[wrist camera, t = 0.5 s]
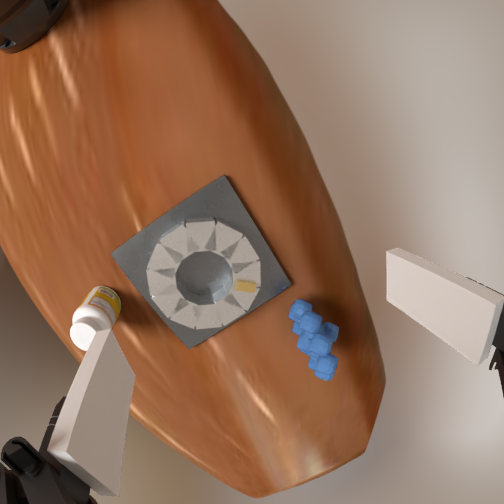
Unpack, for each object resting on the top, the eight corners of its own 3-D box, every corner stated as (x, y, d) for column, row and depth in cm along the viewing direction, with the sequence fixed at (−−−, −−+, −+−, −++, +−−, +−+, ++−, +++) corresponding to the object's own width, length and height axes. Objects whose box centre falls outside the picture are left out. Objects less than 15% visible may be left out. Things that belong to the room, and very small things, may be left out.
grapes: (327, 336, 45) (362, 378, 34) (291, 352, 44) (319, 399, 33) (315, 279, 41) (356, 315, 30) (274, 295, 40) (304, 339, 29)
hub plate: (112, 252, 34) (102, 262, 29) (223, 174, 34) (227, 174, 30) (189, 345, 40) (189, 363, 35) (289, 282, 40) (300, 294, 36)
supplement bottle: (96, 321, 36) (76, 358, 27) (83, 289, 34) (57, 321, 25) (127, 314, 36) (112, 353, 27) (114, 281, 35) (94, 313, 26)
